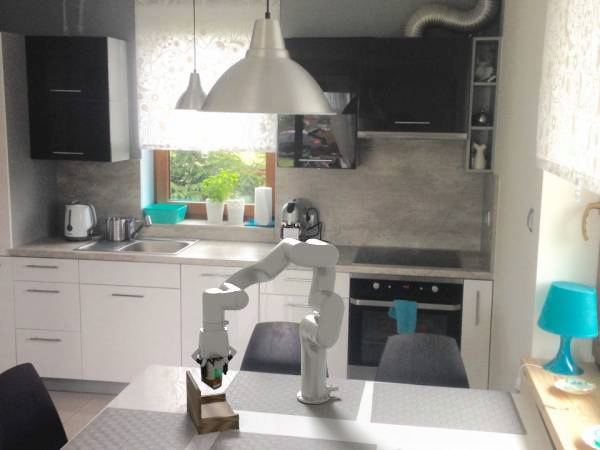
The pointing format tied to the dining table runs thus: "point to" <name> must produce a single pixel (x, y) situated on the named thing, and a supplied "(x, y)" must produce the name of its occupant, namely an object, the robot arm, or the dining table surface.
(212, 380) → the food container
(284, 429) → the dining table surface
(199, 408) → the low wooden shelf
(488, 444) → the dining table surface
